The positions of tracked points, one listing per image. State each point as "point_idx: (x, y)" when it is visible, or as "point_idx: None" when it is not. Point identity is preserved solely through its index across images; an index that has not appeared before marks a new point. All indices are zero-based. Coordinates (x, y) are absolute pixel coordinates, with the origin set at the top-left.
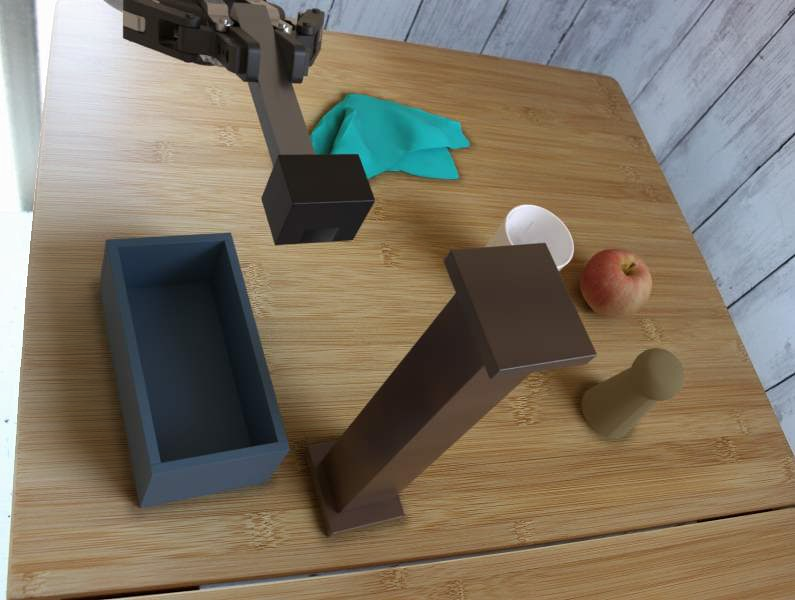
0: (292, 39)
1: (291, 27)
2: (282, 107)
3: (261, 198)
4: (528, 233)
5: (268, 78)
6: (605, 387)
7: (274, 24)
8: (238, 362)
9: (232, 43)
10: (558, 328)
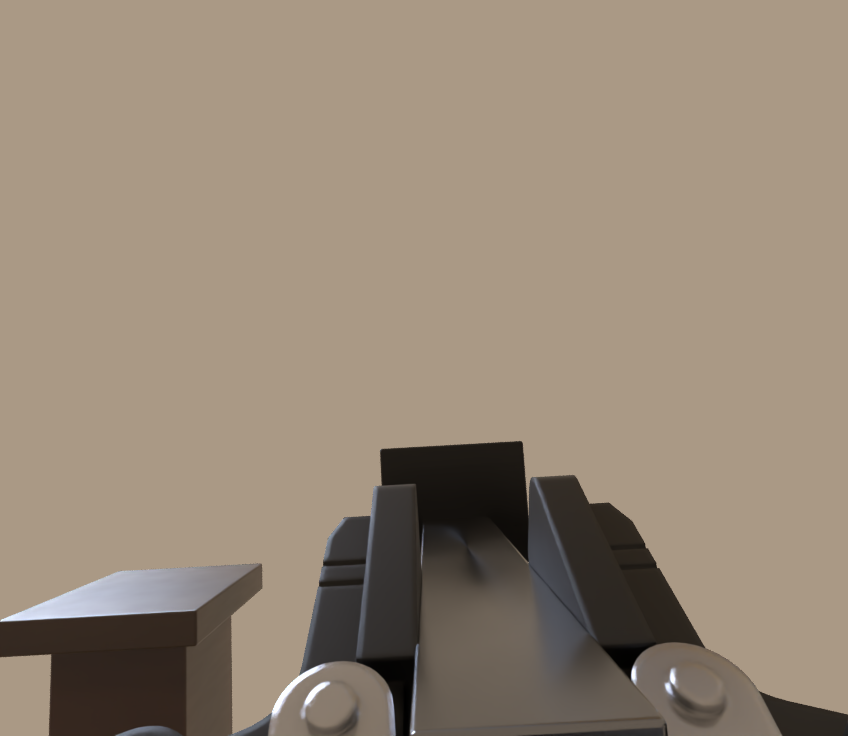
0: (389, 527)
1: (295, 682)
2: (469, 547)
3: None
4: None
5: (493, 565)
6: None
7: (376, 727)
8: None
9: (623, 536)
10: (136, 578)
